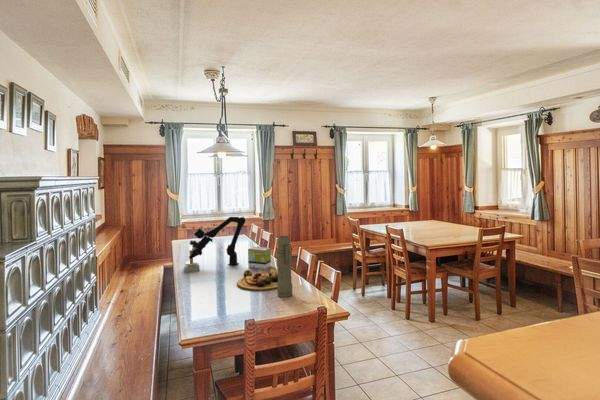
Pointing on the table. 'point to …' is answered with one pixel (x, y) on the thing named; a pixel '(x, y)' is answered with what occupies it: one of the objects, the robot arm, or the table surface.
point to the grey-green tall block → (284, 267)
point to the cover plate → (191, 260)
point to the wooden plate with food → (258, 281)
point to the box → (192, 268)
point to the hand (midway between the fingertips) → (189, 258)
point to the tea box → (259, 257)
